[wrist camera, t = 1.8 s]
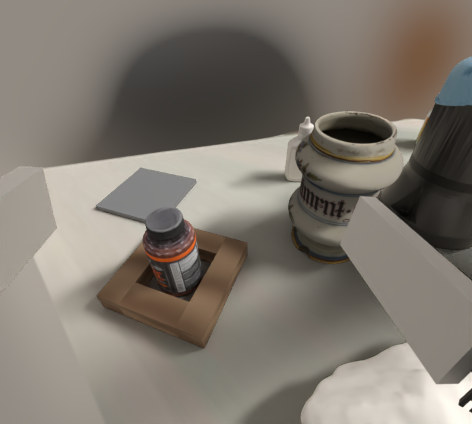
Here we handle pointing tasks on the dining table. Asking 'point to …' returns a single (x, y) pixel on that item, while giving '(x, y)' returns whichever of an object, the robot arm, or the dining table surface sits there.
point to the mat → (146, 194)
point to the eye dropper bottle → (291, 166)
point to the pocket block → (172, 308)
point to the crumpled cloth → (387, 393)
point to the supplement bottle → (172, 251)
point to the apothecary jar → (340, 178)
